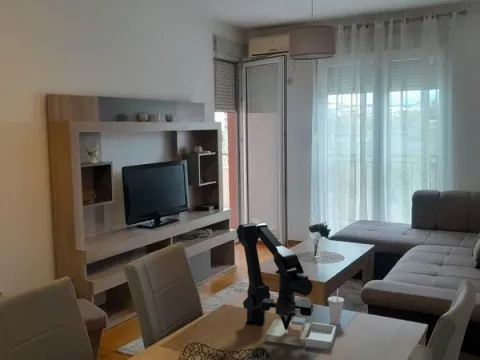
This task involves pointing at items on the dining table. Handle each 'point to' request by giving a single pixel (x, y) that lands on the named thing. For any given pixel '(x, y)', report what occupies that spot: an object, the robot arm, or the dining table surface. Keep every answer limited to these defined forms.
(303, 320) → the tile back
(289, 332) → the tile front
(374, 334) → the dining table surface
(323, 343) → the tray
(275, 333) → the board
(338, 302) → the smoothie
